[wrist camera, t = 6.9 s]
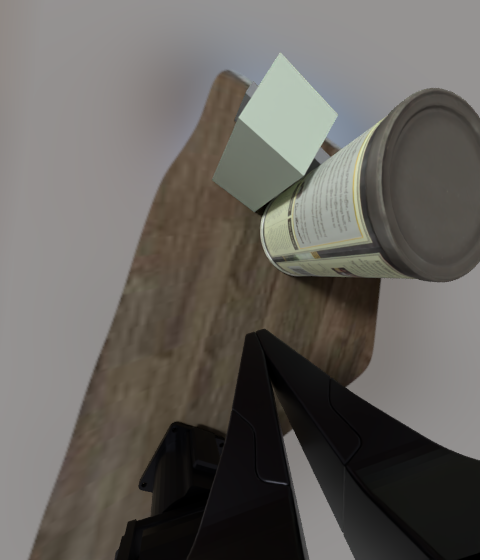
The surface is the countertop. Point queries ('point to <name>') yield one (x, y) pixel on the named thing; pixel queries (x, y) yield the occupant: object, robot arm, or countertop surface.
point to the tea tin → (274, 137)
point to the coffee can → (388, 200)
